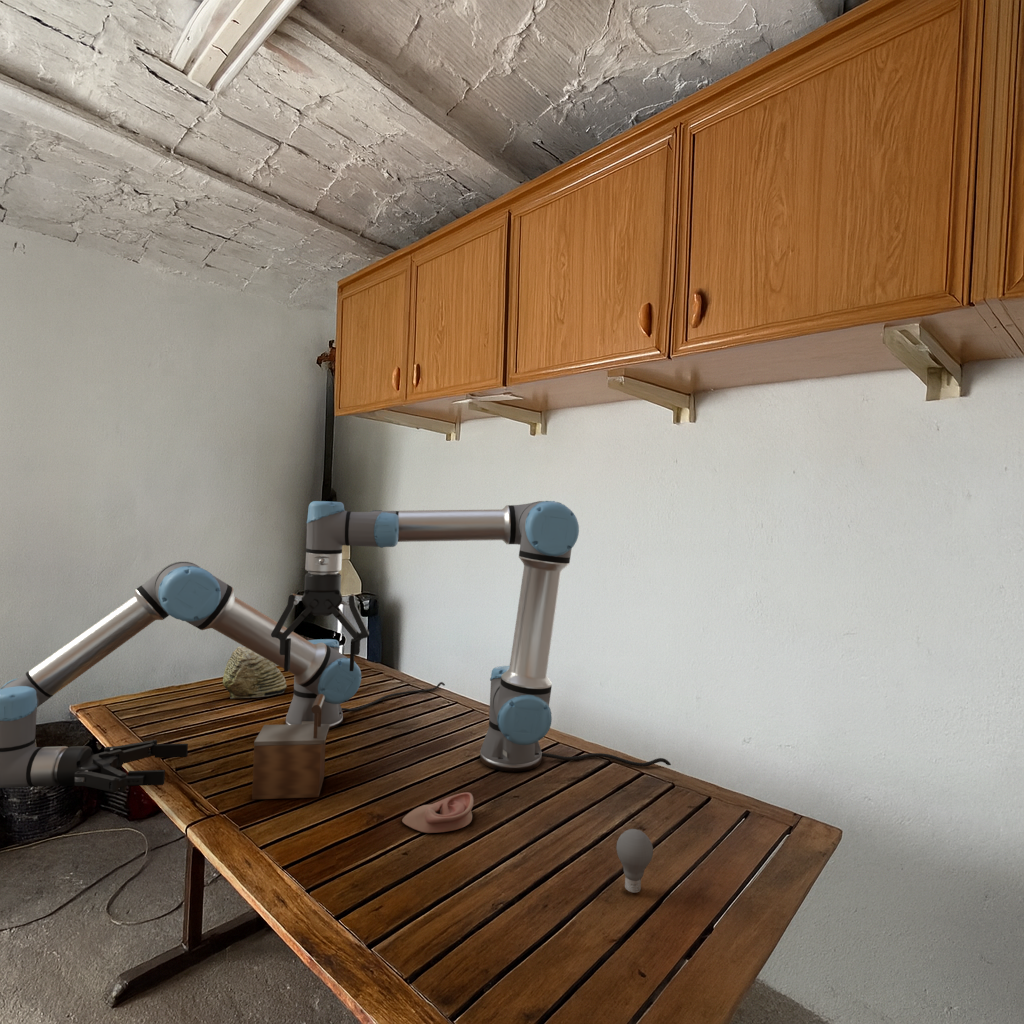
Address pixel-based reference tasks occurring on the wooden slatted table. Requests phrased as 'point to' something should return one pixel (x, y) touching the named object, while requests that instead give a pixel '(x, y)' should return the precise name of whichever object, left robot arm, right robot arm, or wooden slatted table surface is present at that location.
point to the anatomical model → (442, 814)
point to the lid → (296, 730)
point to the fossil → (252, 675)
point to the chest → (288, 771)
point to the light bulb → (634, 857)
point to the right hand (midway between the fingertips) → (319, 669)
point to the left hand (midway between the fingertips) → (176, 763)
